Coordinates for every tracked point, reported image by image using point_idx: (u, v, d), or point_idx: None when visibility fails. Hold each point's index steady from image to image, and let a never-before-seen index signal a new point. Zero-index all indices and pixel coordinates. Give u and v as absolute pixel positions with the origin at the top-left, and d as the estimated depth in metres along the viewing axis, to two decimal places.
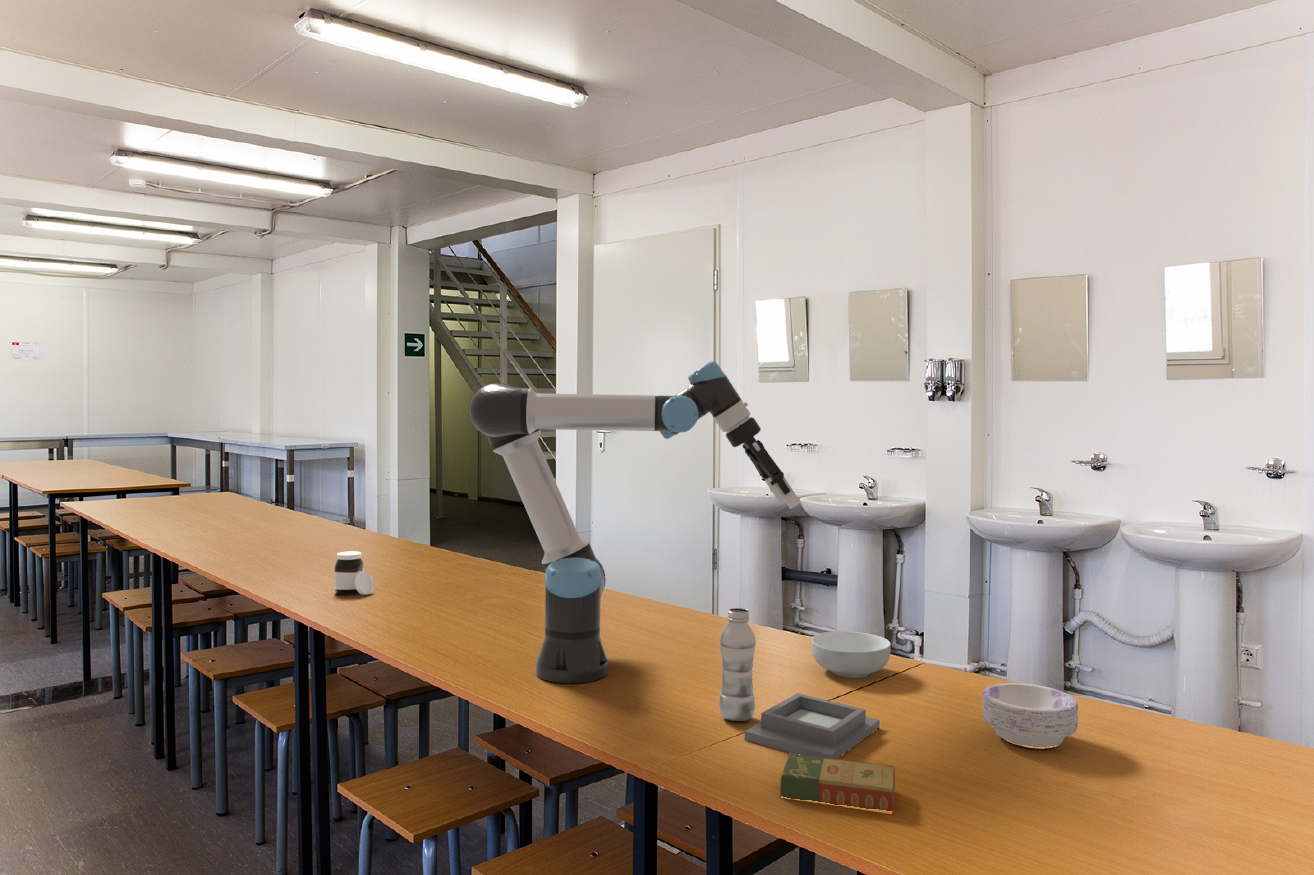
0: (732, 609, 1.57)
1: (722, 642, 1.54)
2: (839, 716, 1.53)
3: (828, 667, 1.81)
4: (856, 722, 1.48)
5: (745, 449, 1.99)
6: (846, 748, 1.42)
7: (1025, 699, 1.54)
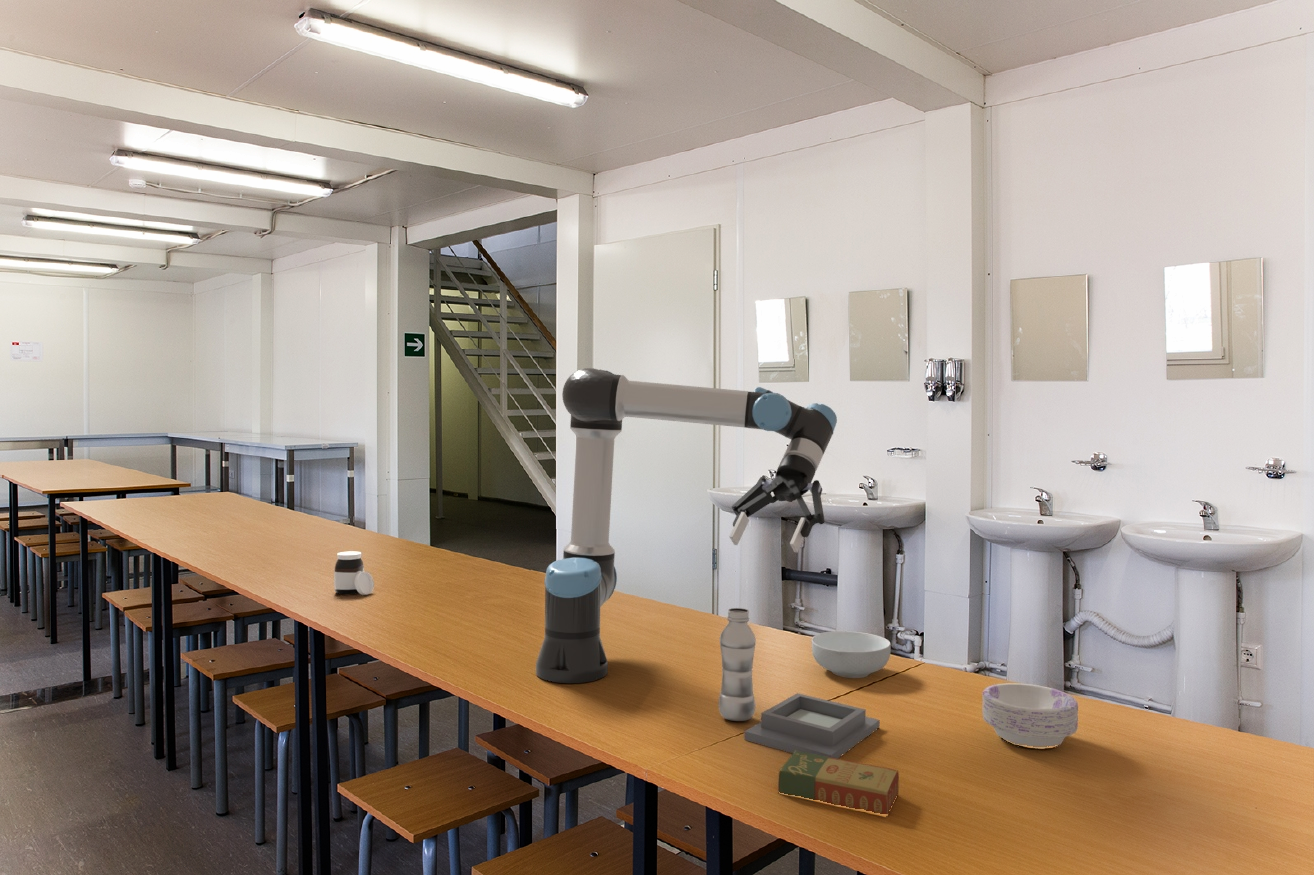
0: (732, 609, 1.57)
1: (722, 642, 1.54)
2: (839, 716, 1.53)
3: (828, 667, 1.81)
4: (856, 722, 1.48)
5: (763, 481, 1.80)
6: (846, 748, 1.42)
7: (1025, 699, 1.54)
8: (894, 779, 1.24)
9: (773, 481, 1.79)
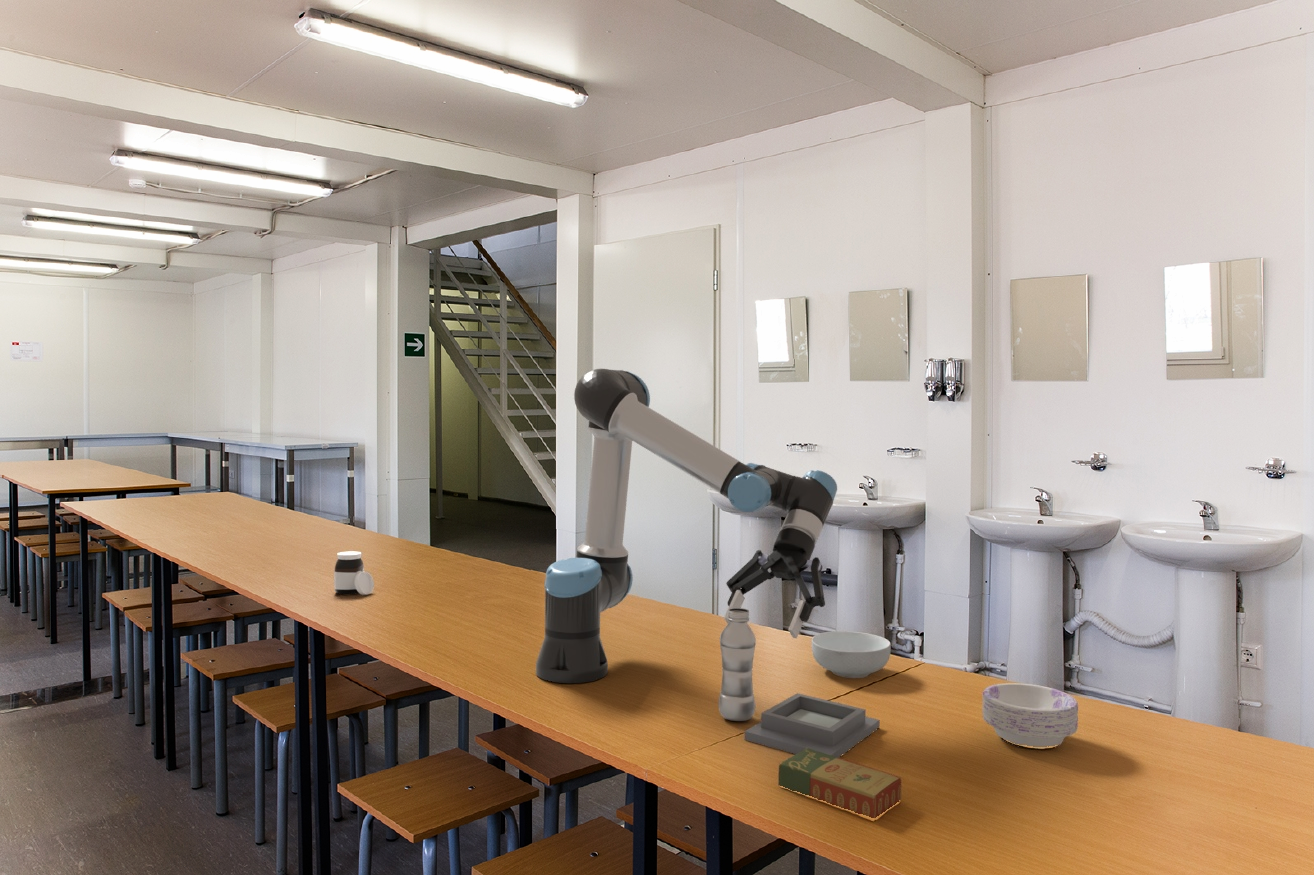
0: (732, 609, 1.57)
1: (722, 642, 1.54)
2: (839, 716, 1.53)
3: (828, 667, 1.81)
4: (856, 722, 1.48)
5: (759, 555, 1.70)
6: (846, 748, 1.42)
7: (1025, 699, 1.54)
8: (891, 785, 1.22)
9: (770, 556, 1.69)
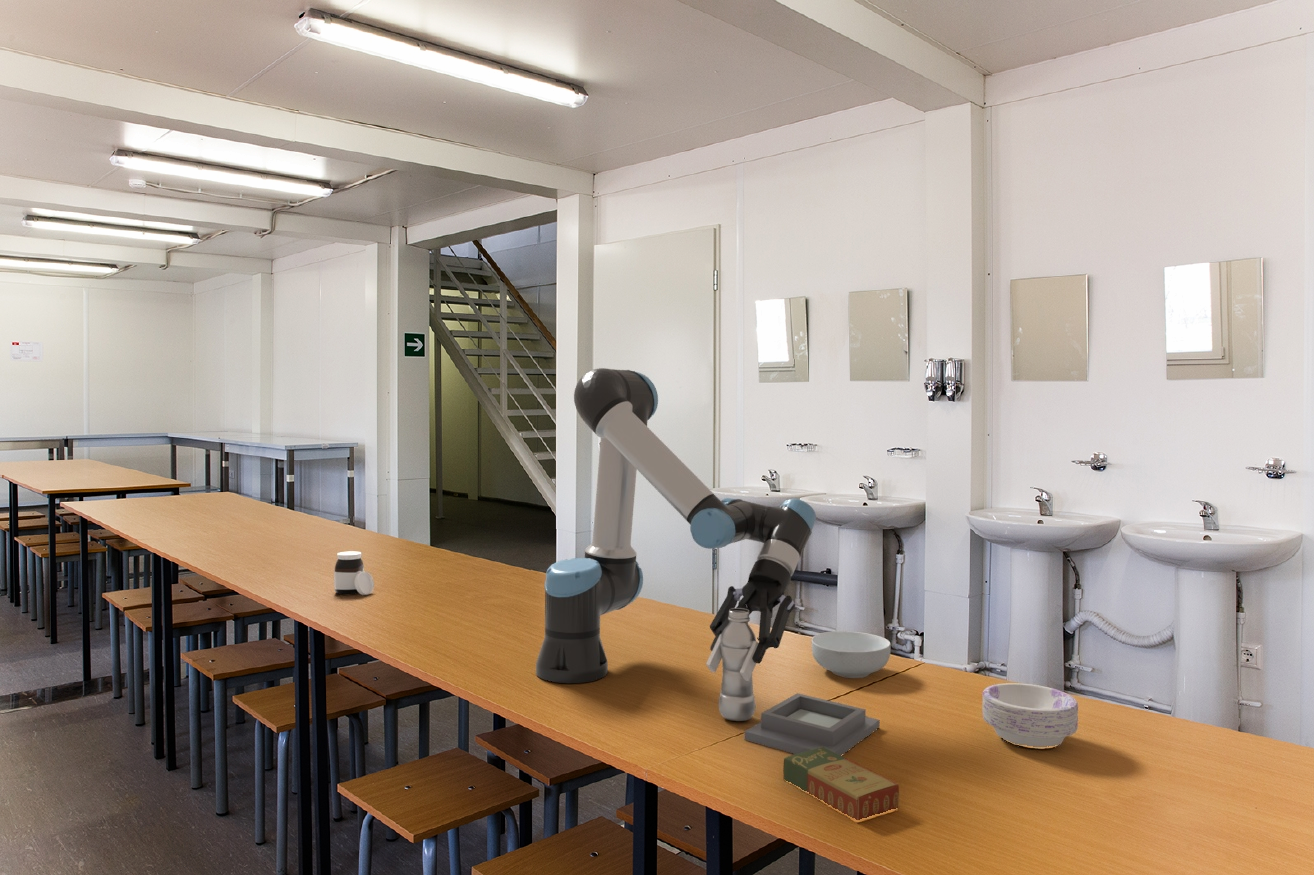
0: (733, 609, 1.57)
1: (722, 642, 1.54)
2: (839, 716, 1.53)
3: (828, 667, 1.81)
4: (856, 722, 1.48)
5: (733, 591, 1.64)
6: (846, 748, 1.42)
7: (1025, 699, 1.54)
8: (884, 790, 1.20)
9: (745, 588, 1.64)
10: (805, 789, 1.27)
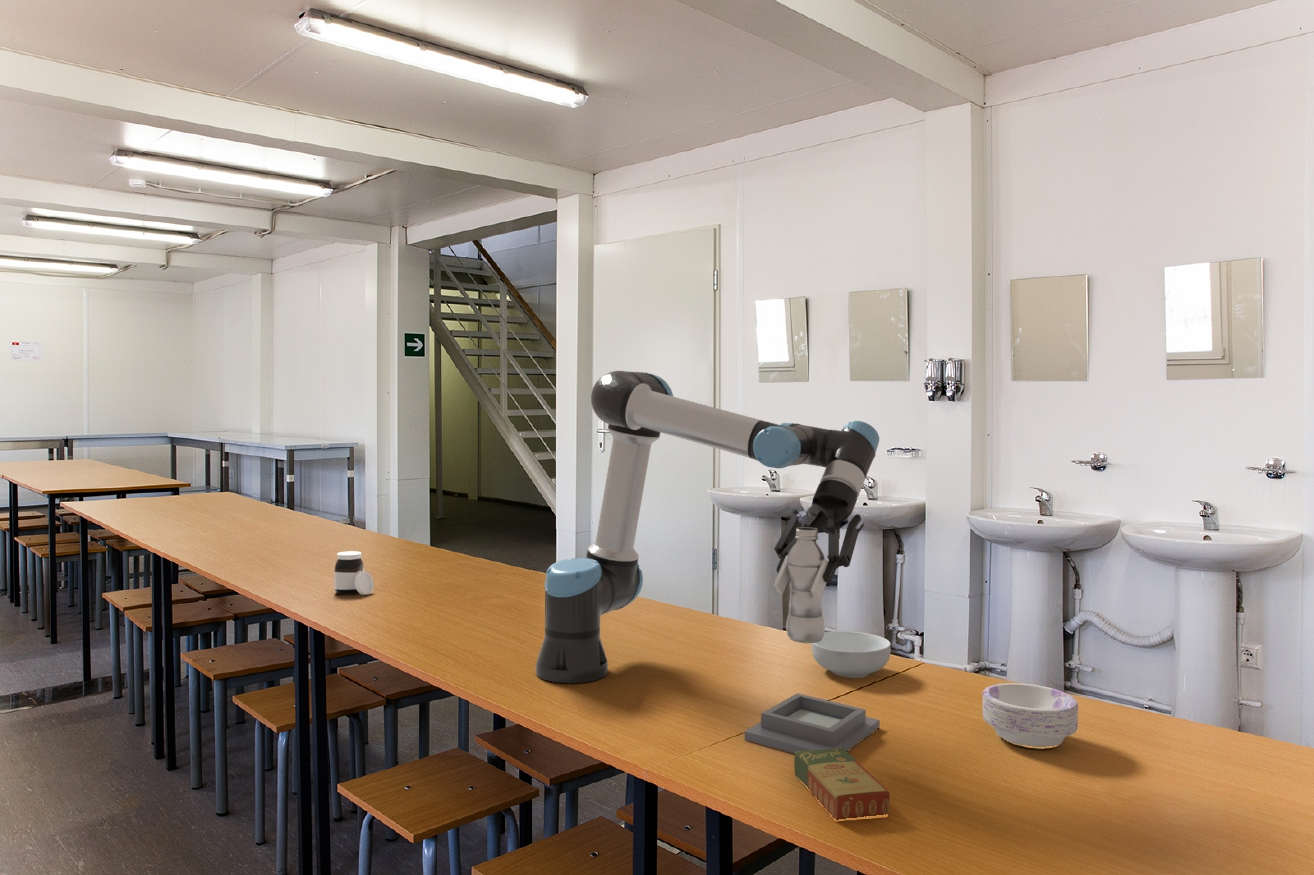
0: (799, 528, 1.51)
1: (790, 561, 1.48)
2: (839, 716, 1.53)
3: (828, 667, 1.81)
4: (856, 722, 1.48)
5: (797, 513, 1.58)
6: (846, 748, 1.42)
7: (1025, 699, 1.54)
8: (870, 794, 1.19)
9: (809, 510, 1.58)
10: (806, 784, 1.28)
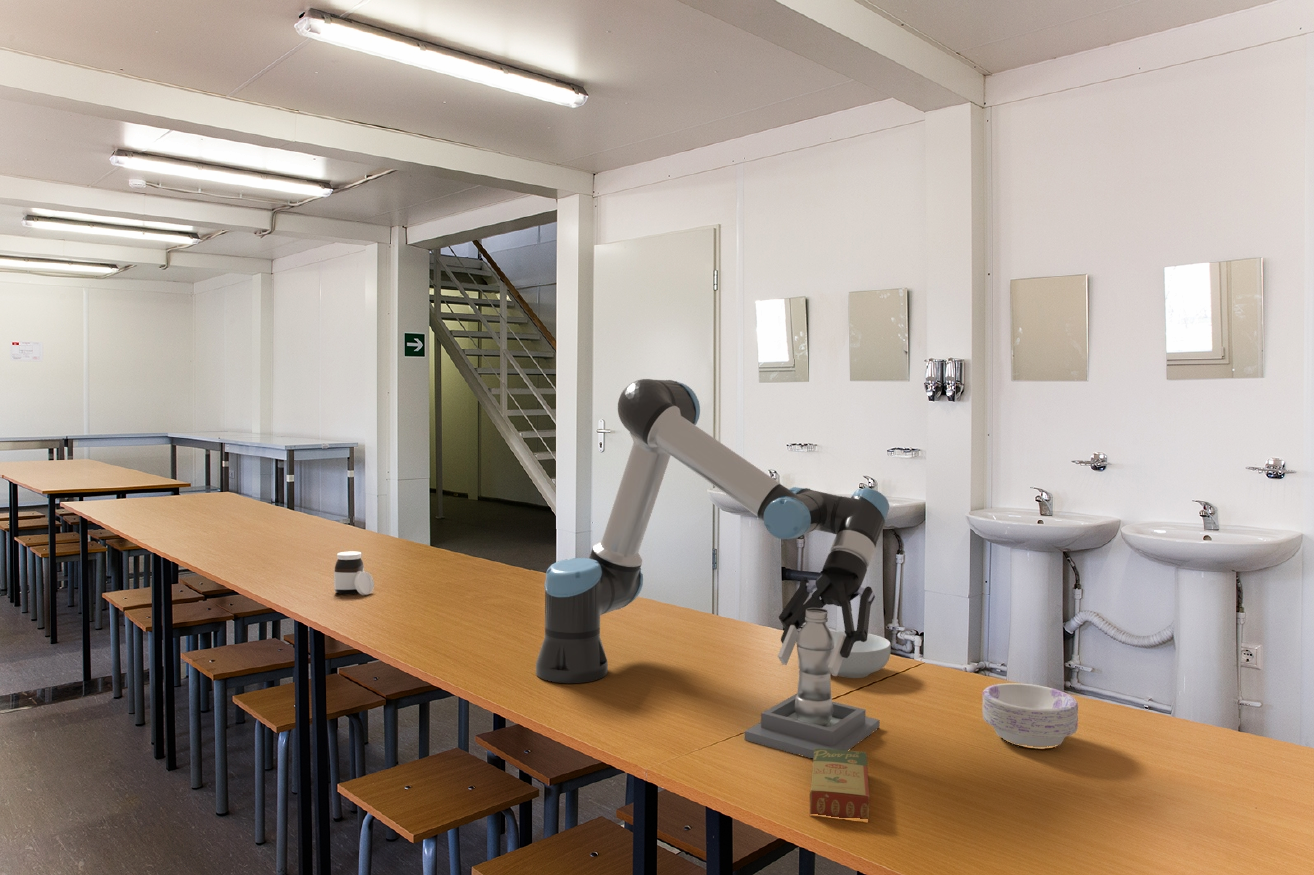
0: (809, 609, 1.50)
1: (800, 643, 1.48)
2: (839, 716, 1.53)
3: None
4: (856, 722, 1.48)
5: (806, 582, 1.58)
6: (846, 748, 1.42)
7: (1025, 699, 1.54)
8: (847, 795, 1.18)
9: (819, 581, 1.57)
10: None
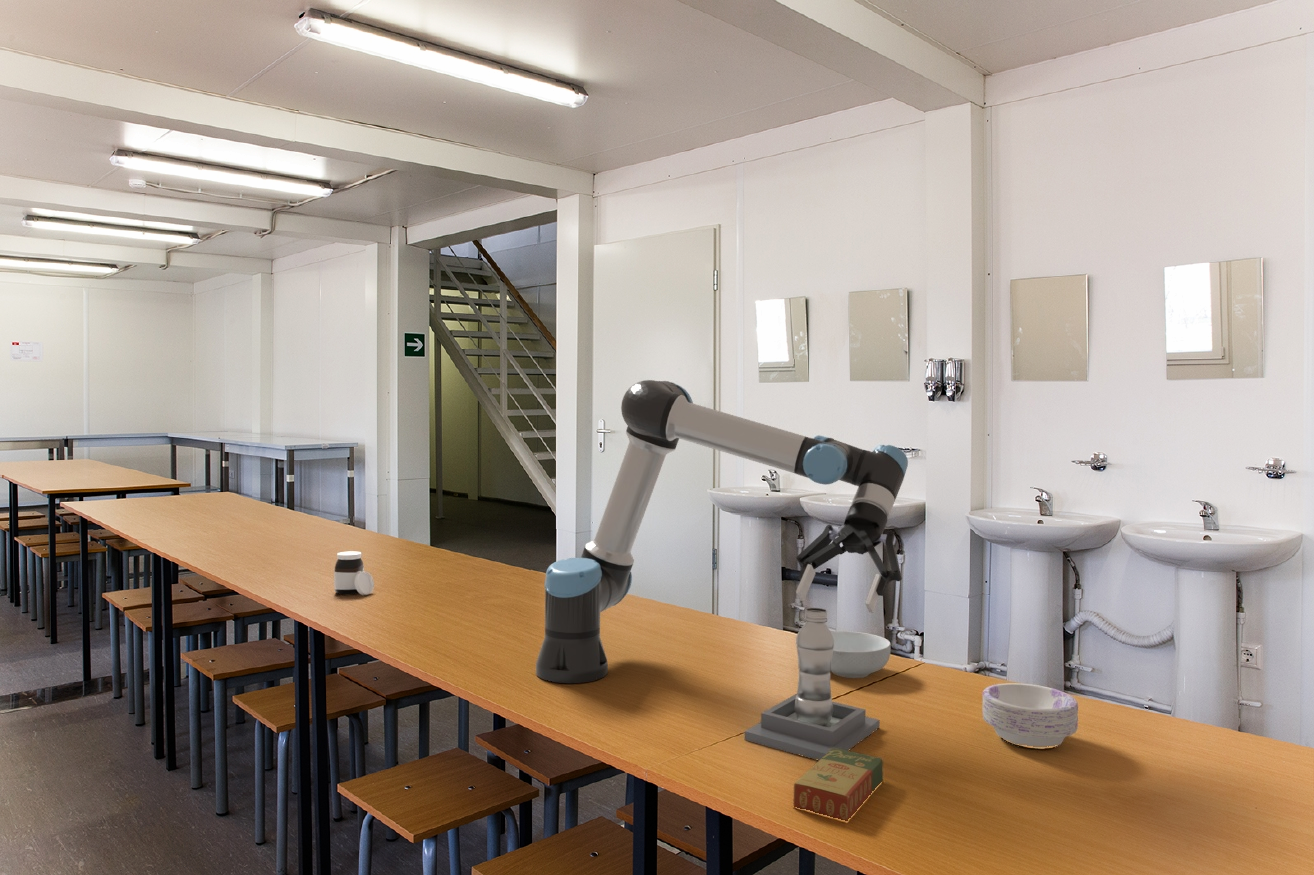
0: (809, 609, 1.50)
1: (799, 643, 1.48)
2: (839, 716, 1.53)
3: None
4: (856, 722, 1.48)
5: (830, 530, 1.66)
6: (846, 748, 1.42)
7: (1025, 699, 1.54)
8: (828, 793, 1.19)
9: (841, 530, 1.65)
10: None
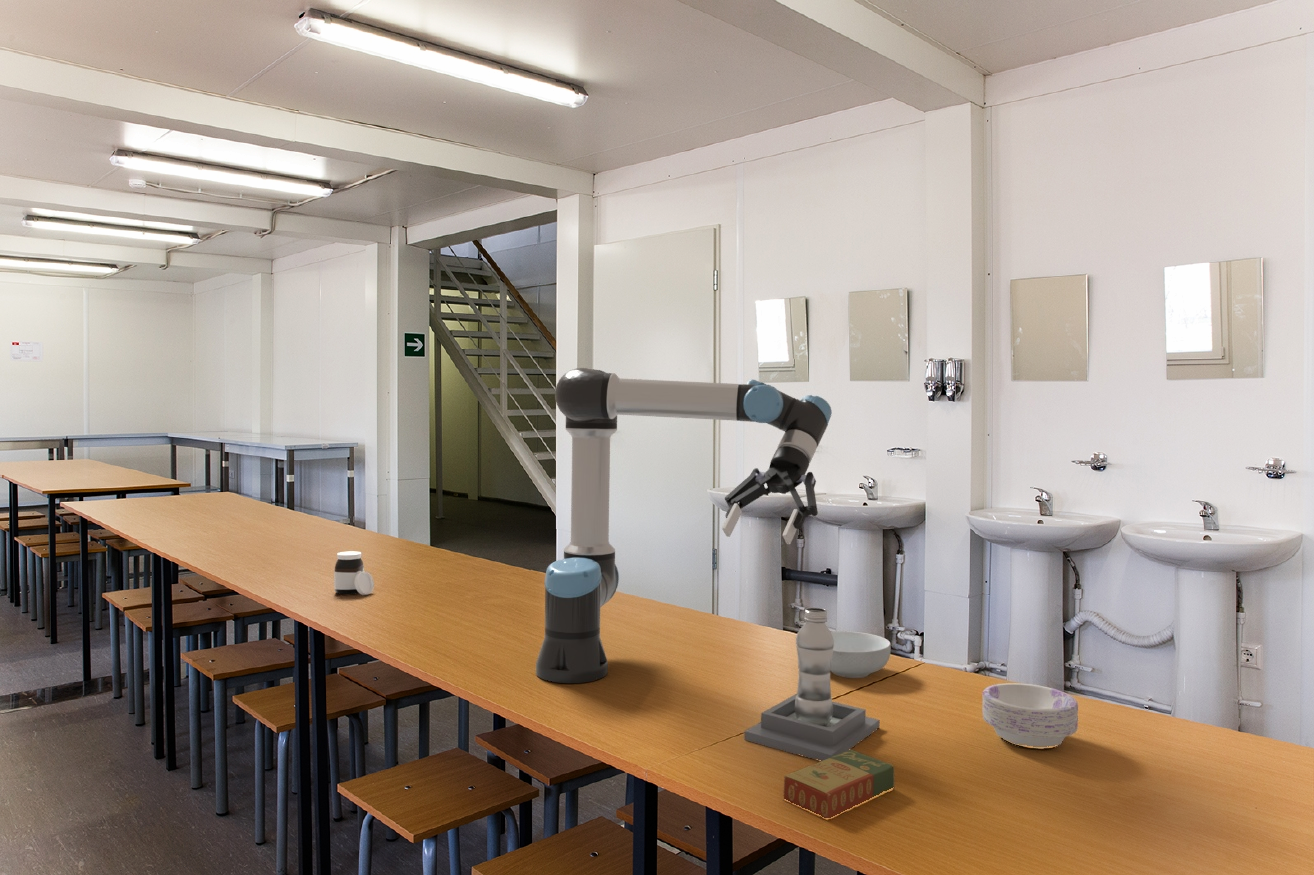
0: (808, 609, 1.51)
1: (799, 643, 1.48)
2: (839, 716, 1.53)
3: None
4: (856, 722, 1.48)
5: (756, 472, 1.79)
6: (846, 748, 1.42)
7: (1025, 699, 1.54)
8: (811, 788, 1.20)
9: (766, 473, 1.78)
10: None
